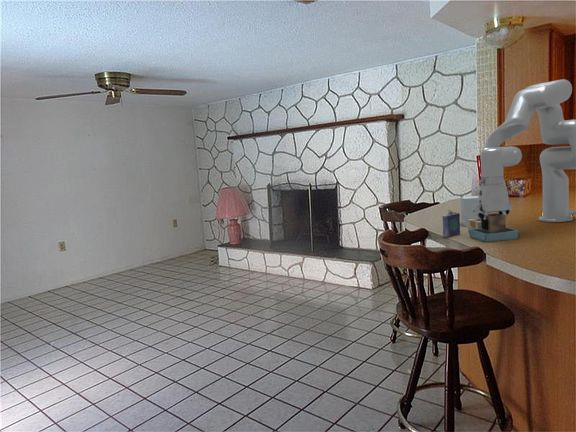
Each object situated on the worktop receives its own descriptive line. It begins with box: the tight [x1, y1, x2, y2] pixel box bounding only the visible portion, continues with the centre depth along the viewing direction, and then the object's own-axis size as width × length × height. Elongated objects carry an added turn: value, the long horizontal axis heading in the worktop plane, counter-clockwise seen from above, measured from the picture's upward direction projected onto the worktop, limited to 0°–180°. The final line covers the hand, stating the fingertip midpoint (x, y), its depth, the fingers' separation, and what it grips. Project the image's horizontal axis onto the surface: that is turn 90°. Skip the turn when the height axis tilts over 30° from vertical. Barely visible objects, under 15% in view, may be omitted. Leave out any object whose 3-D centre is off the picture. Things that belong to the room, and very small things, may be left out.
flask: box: [441, 209, 461, 238], centre depth 170 cm, size 9×3×11 cm, turn 121°
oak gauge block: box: [467, 219, 482, 232], centre depth 172 cm, size 8×8×5 cm
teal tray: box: [469, 227, 520, 243], centre depth 160 cm, size 13×11×3 cm
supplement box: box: [460, 195, 479, 227], centre depth 189 cm, size 7×7×13 cm
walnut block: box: [482, 212, 507, 232], centre depth 160 cm, size 6×6×6 cm
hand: (493, 228), depth 160 cm, fingers closed on walnut block, 6 cm apart
